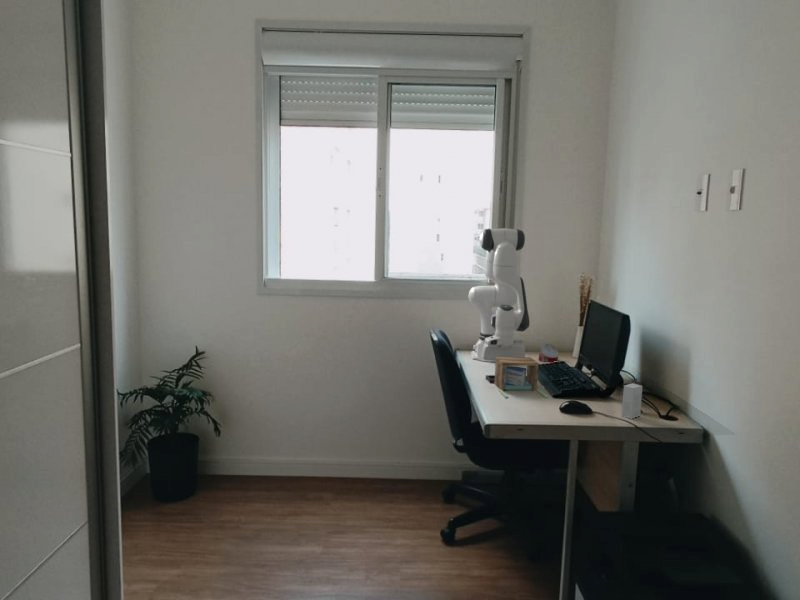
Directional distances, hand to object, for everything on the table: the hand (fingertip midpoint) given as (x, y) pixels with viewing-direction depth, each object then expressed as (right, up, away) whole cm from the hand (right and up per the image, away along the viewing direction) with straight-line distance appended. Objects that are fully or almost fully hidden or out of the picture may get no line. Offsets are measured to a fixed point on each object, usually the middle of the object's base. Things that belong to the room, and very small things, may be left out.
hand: (502, 368), depth 255 cm
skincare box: (+38, -11, -52) cm, 66 cm away
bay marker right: (+12, -7, -27) cm, 30 cm away
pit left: (-6, -4, -9) cm, 12 cm away
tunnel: (+2, -6, -18) cm, 19 cm away
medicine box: (+2, -6, -18) cm, 19 cm away
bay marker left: (-5, -7, -29) cm, 30 cm away
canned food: (+30, 0, +33) cm, 45 cm away
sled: (+1, -5, -12) cm, 13 cm away
